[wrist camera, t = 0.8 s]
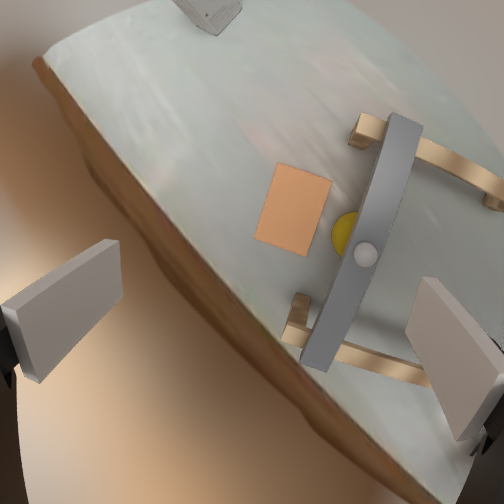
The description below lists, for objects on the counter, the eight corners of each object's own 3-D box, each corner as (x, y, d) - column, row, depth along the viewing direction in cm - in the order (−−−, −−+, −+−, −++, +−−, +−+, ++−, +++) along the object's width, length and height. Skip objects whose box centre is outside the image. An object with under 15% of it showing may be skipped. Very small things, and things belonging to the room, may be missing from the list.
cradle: (497, 196, 32) (537, 202, 23) (430, 353, 39) (450, 393, 29) (352, 129, 35) (361, 112, 26) (291, 305, 42) (280, 340, 32)
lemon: (335, 205, 38) (338, 210, 30) (378, 214, 37) (391, 222, 29) (327, 248, 39) (327, 264, 32) (369, 257, 38) (378, 275, 31)
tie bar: (417, 128, 25) (427, 123, 22) (326, 362, 31) (326, 379, 28) (388, 116, 25) (395, 109, 22) (300, 353, 32) (297, 369, 29)
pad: (332, 181, 37) (332, 181, 37) (305, 256, 40) (305, 256, 40) (278, 162, 38) (277, 162, 38) (254, 237, 41) (253, 238, 41)
